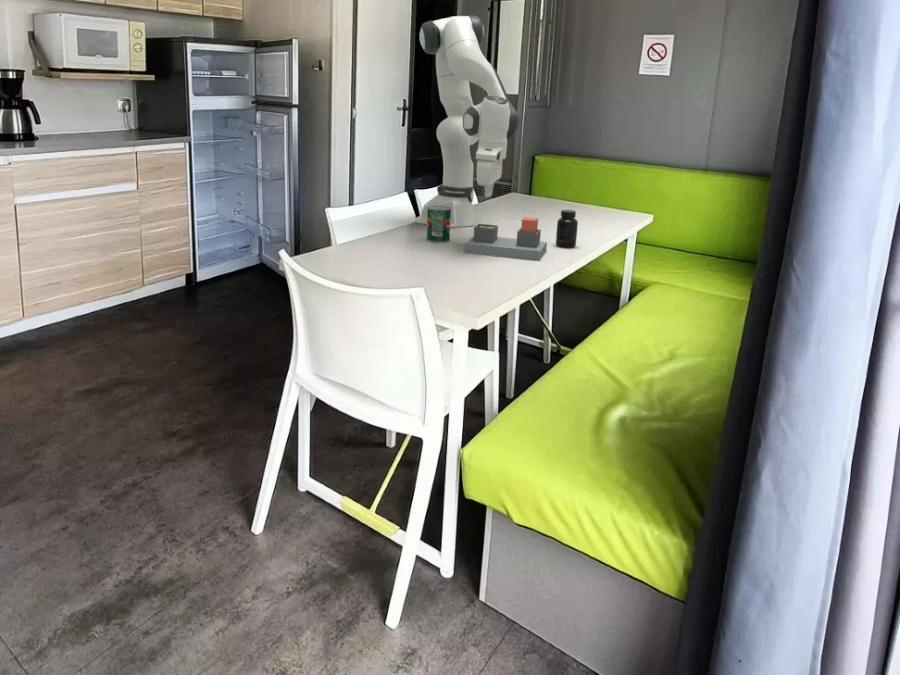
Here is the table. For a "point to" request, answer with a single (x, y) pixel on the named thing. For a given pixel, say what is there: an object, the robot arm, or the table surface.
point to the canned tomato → (438, 223)
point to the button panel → (506, 244)
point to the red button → (529, 225)
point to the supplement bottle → (567, 229)
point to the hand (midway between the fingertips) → (488, 196)
